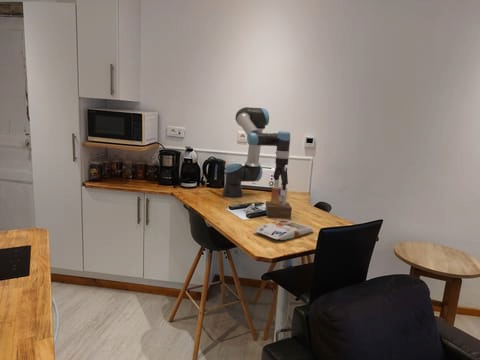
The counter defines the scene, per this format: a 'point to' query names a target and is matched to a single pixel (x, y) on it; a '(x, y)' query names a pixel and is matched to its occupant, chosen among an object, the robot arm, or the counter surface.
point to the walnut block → (278, 210)
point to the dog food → (283, 229)
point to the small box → (278, 196)
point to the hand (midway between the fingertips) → (279, 192)
